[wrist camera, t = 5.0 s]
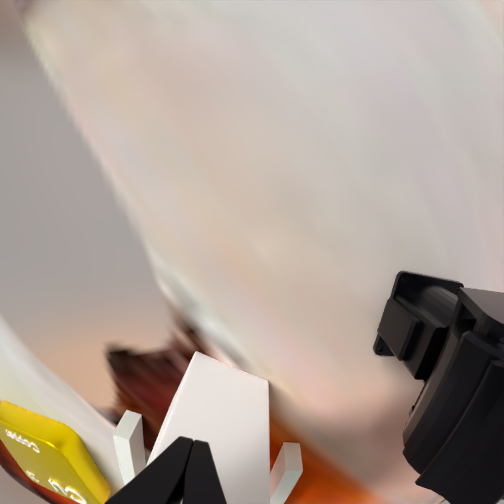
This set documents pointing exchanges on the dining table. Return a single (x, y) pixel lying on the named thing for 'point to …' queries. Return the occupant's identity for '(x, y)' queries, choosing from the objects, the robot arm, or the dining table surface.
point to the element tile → (52, 455)
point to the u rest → (134, 462)
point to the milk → (224, 425)
